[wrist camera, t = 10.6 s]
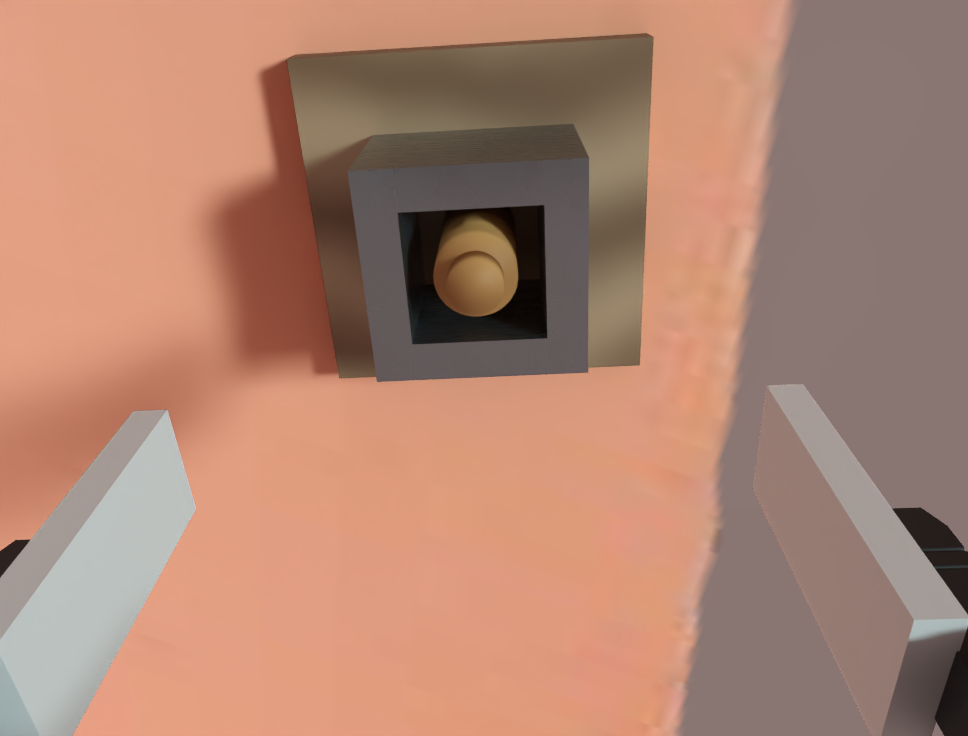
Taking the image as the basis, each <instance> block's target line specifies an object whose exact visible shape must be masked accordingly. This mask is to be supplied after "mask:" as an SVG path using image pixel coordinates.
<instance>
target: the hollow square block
mask: <svg viewBox="0 0 968 736" xmlns="http://www.w3.org/2000/svg"><path fill="white" fill-rule="evenodd" d="M348 179H349V186H350V193H351V200H352V207H353V214H354V221H355V228H356V235H357V243H358V250H359V257H360V264H361V271H362V278H363V285H364V292H365V299H366V306H367V314H368V321H369V328H370V335H371V342H372V349H373V356H374V363H375V370H376V377H377V382H382V381H405V380H427V379H450V378H473V377H496V376H518V375H541V374H564V373H586V372H588V291H589V156H588V154H587V152H586V150H585V148H584V145H583V143H582V141H581V139H580V137H579V135H578V133H577V130H576V128H575V126H574V124H556V125H539V126H521V127H504V128H486V129H469V130H451V131H434V132H417V133H399V134H382V135H373V136H372V137H371V139H370V140H369V142H368V143H367V144H366V146H365V147H364V149H363V150H362V151H361V153H360V154H359V156H358V157H357V158H356V160H355V161H354V163H353V164H352V165H351V167H350V168H349V170H348ZM535 205H538V241H539V279H526V280H518V283H517V288H516V291H515V293H514V295H513V297H512V298H511V300H510V301H509V302H508V303H507V304H506V305H505V306H504V307H503V308H501V309H500V310H498V311H496V312H495V313H492V314H489V315H485V316H467V315H463V314H460V313H458V312H456V311H454V310H452V309H451V308H449V307H448V306H447V305H446V304H445V303H444V302H443V301H442V300H441V298H440V297H439V295H438V293H437V291H436V288H435V285H434V284H426V283H425V273H424V263H423V253H422V243H421V233H420V223H419V213H418V212H422V211H441V210H459V209H478V208H497V207H516V206H535Z"/></svg>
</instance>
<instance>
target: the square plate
mask: <svg viewBox="0 0 968 736" xmlns="http://www.w3.org/2000/svg"><path fill="white" fill-rule="evenodd" d="M652 57H653V36H651V35H649V34H647V33H646V34H630V35H613V36H597V37H580V38H564V39H547V40H531V41H515V42H498V43H482V44H465V45H449V46H432V47H416V48H400V49H383V50H367V51H350V52H334V53H317V54H301V55H294V56H292V57H290V58H288V59H287V65H288V71H289V77H290V83H291V89H292V95H293V101H294V107H295V113H296V119H297V125H298V131H299V137H300V143H301V149H302V156H303V162H304V168H305V174H306V180H307V186H308V192H309V198H310V204H311V210H312V216H313V222H314V228H315V234H316V240H317V246H318V252H319V258H320V264H321V270H322V276H323V282H324V289H325V295H326V301H327V307H328V313H329V319H330V325H331V331H332V337H333V343H334V349H335V355H336V361H337V367H338V373H339V378H359V377H376V370H375V363H374V356H373V349H372V342H371V335H370V328H369V321H368V314H367V306H366V299H365V292H364V285H363V278H362V271H361V264H360V257H359V250H358V243H357V235H356V228H355V221H354V214H353V207H352V200H351V193H350V186H349V179H348V170H349V168H350V167H351V165H352V164H353V163H354V161H355V160H356V158H357V157H358V156H359V154H360V153H361V151H362V150H363V149H364V147H365V146H366V144H367V143H368V142H369V140H370V139H371V137H372V136H373V135H382V134H399V133H417V132H434V131H451V130H469V129H486V128H504V127H521V126H539V125H556V124H574V126H575V128H576V130H577V133H578V135H579V137H580V139H581V141H582V143H583V145H584V148H585V150H586V152H587V154H588V156H589V291H588V368H589V367H612V366H635V365H640V347H641V323H642V299H643V274H644V250H645V226H646V202H647V178H648V154H649V129H650V105H651V81H652ZM418 213H419V223H420V233H421V243H422V253H423V263H424V273H425V283H426V284H434V285H435V288H436V291H437V293H438V295H439V297H440V298H441V300H442V301H443V302H444V303H445V304H446V305H447V306H448V307H449V308H451V309H452V310H454V311H456V312H458V313H460V314H463V315H467V316H485V315H489V314H492V313H495V312H496V311H498V310H500V309H501V308H503V307H504V306H505V305H506V304H507V303H508V302H509V301H510V300H511V298H512V297H513V295H514V293H515V291H516V288H517V283H518V280H526V279H539V241H538V205H535V206H516V207H497V208H478V209H459V210H441V211H422V212H418Z"/></svg>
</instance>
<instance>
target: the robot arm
mask: <svg viewBox="0 0 968 736" xmlns="http://www.w3.org/2000/svg"><path fill="white" fill-rule="evenodd" d="M753 490H754V493H755V495H756V497H757V498H758V501H759V503H760V505H761V507H762V509H763V511H764V513H765V515H766V517H767V520H768V522H769V524H770V526H771V528H772V530H773V532H774V534H775V536H776V538H777V540H778V543H779V545H780V547H781V549H782V551H783V553H784V555H785V557H786V559H787V561H788V563H789V565H790V567H791V570H792V572H793V574H794V576H795V578H796V580H797V582H798V584H799V586H800V588H801V590H802V592H803V595H804V597H805V599H806V601H807V603H808V605H809V607H810V609H811V611H812V613H813V615H814V617H815V619H816V622H817V624H818V626H819V628H820V630H821V632H822V634H823V636H824V638H825V640H826V642H827V644H828V646H829V649H830V651H831V653H832V655H833V657H834V659H835V661H836V663H837V665H838V667H839V669H840V672H841V674H842V676H843V677H844V680H845V682H846V684H847V686H848V688H849V690H850V692H851V694H852V697H853V699H854V701H855V703H856V705H857V707H858V709H859V711H860V713H861V715H862V717H863V719H864V722H865V724H866V726H867V728H868V730H869V732H870V734H871V736H932V733H933V730H934V727H935V724H936V722H937V724H938V725H939V727H940V729H941V731H942V732H943V734H944V736H968V552H967V551H964V547H963V545H962V544H961V543H960V541H959V540H958V539H957V538H956V536H955V535H954V534H953V533H952V531H951V530H950V529H949V528H948V526H947V525H945V524H944V523H942V522H941V521H939V520H938V519H937V518H935V517H934V516H932V515H931V514H929V513H928V512H926V511H925V510H923V509H922V508H895V509H892V508H891V507H890V505H889V504H888V503H887V501H886V500H885V498H884V497H883V495H882V494H881V493H880V491H879V490H878V489H877V487H876V486H875V484H874V483H873V481H872V480H871V479H870V477H869V476H868V474H867V473H866V472H865V470H864V469H863V467H862V466H861V465H860V463H859V462H858V460H857V459H856V458H855V456H854V455H853V453H852V452H851V451H850V449H849V448H848V446H847V445H846V444H845V442H844V441H843V440H842V438H841V437H840V435H839V434H838V433H837V431H836V430H835V428H834V427H833V426H832V424H831V423H830V421H829V420H828V419H827V417H826V416H825V414H824V413H823V412H822V410H821V409H820V407H819V406H818V405H817V403H816V402H815V400H814V399H813V398H812V396H811V395H810V393H809V392H808V391H807V389H806V388H805V387H804V385H803V384H791V385H767V387H766V395H765V402H764V409H763V418H762V424H761V432H760V439H759V447H758V455H757V462H756V469H755V476H754V484H753ZM195 510H196V507H195V503H194V500H193V496H192V493H191V489H190V486H189V483H188V479H187V476H186V472H185V469H184V465H183V462H182V458H181V455H180V452H179V448H178V445H177V441H176V438H175V434H174V431H173V428H172V424H171V421H170V417H169V414H168V410H148V411H133V412H132V414H131V415H130V416H129V417H128V419H127V420H126V421H125V422H124V424H123V425H122V426H121V427H120V429H119V430H118V431H117V432H116V434H115V435H114V436H113V437H112V439H111V440H110V441H109V442H108V444H107V445H106V446H105V447H104V449H103V450H102V451H101V452H100V454H99V455H98V456H97V457H96V459H95V460H94V461H93V462H92V464H91V465H90V466H89V467H88V469H87V470H86V471H85V472H84V474H83V475H82V476H81V477H80V479H79V480H78V481H77V482H76V484H75V485H74V486H73V487H72V489H71V490H70V491H69V492H68V494H67V495H66V496H65V497H64V499H63V500H62V501H61V502H60V504H59V505H58V506H57V507H56V509H55V510H54V511H53V512H52V514H51V515H50V516H49V517H48V519H47V520H46V521H45V522H44V524H43V525H42V526H41V527H40V529H39V530H38V531H37V532H36V534H35V535H34V536H33V537H32V539H31V540H15V541H14V542H12V543H11V544H10V545H8V546H7V547H5V548H4V549H3V550H1V551H0V736H72V735H73V734H74V732H75V730H76V728H77V726H78V724H79V723H80V721H81V719H82V717H83V715H84V713H85V712H86V710H87V708H88V706H89V704H90V702H91V701H92V699H93V697H94V695H95V693H96V691H97V690H98V688H99V686H100V684H101V682H102V680H103V679H104V677H105V675H106V673H107V671H108V669H109V667H110V666H111V664H112V662H113V660H114V658H115V656H116V655H117V653H118V651H119V649H120V647H121V645H122V644H123V642H124V640H125V638H126V636H127V634H128V633H129V631H130V629H131V627H132V625H133V623H134V622H135V620H136V618H137V616H138V614H139V612H140V611H141V609H142V607H143V605H144V603H145V601H146V600H147V598H148V596H149V594H150V592H151V590H152V589H153V587H154V585H155V583H156V581H157V579H158V578H159V576H160V574H161V572H162V570H163V568H164V566H165V565H166V563H167V561H168V559H169V557H170V555H171V554H172V552H173V550H174V548H175V546H176V544H177V543H178V541H179V539H180V537H181V535H182V533H183V532H184V530H185V528H186V526H187V524H188V522H189V521H190V519H191V517H192V515H193V513H194V511H195Z"/></svg>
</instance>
